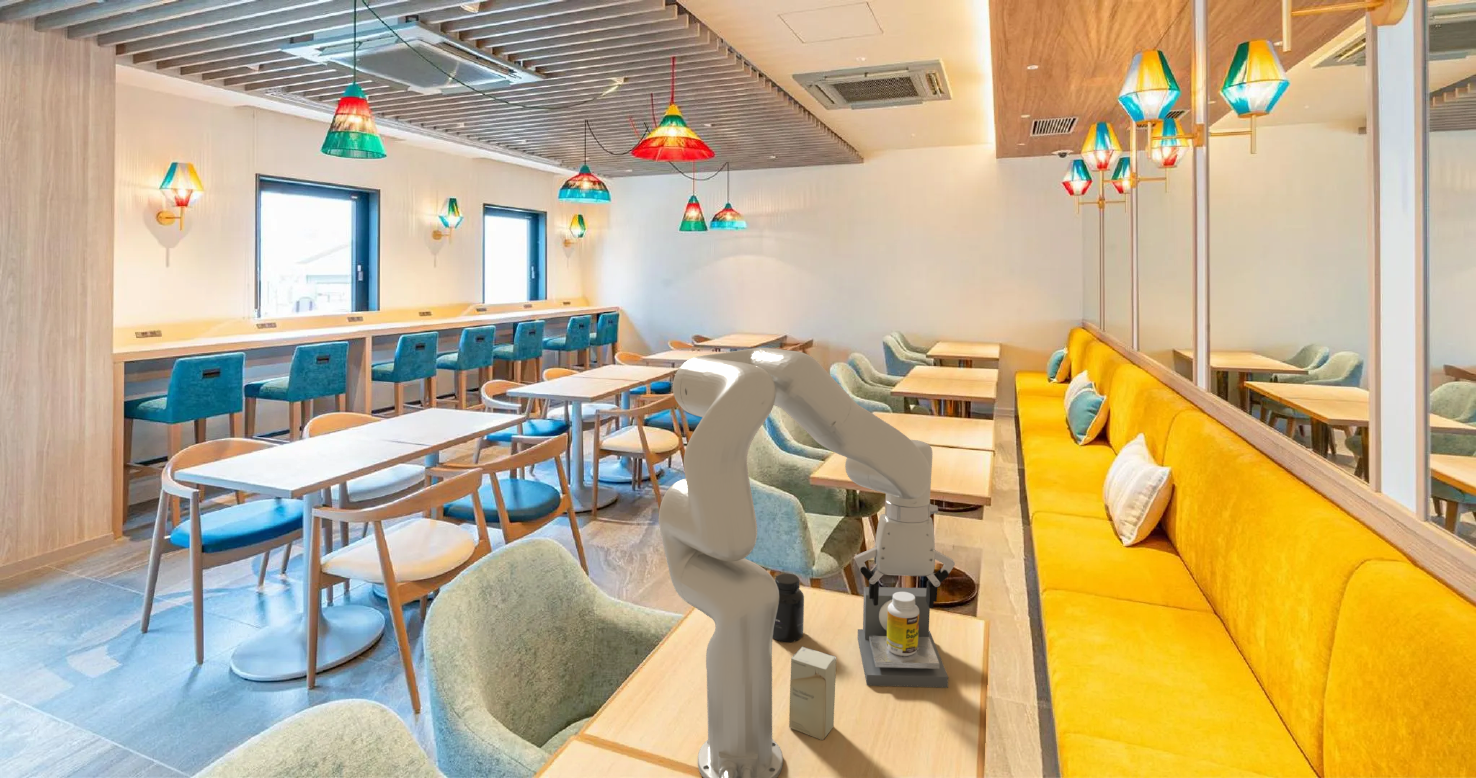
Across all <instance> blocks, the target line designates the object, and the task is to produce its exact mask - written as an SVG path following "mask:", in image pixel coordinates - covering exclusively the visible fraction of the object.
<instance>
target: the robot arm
mask: <svg viewBox="0 0 1476 778" xmlns="http://www.w3.org/2000/svg"><path fill="white" fill-rule="evenodd" d="M672 392H673V393H672V394H673V397H674V399H675V401H676V402H677V404H678V406H679V407H681V409H682V410H684V411H685V412H687V413H689V414H690V415H693V416H697V417H700V418H701V419H700V421H699V423H698V424H697V426H696V428H695V429H694V431H693V432H692V434H691V436H690V438H689V440H688V443H687V445H686V448H685V451H684V456H683V468H684V469H683V470H684V476H685V478H683V479H679V480H678V481H676V482H674V483H673V484H671V486H670V487H668V489H667V490H666V492H665V493H664V495H663V497H662V500H661V502H660V506H659V509H658V510H659V511H658V525H659V532H660V537H661V541H662V545H663V550H664V555H665V559H666V564H667V567H668V568H667V569H668V572H669V576H670V580H671V583H672V586H673V588H674V591H675V592H676V593H677V595H678V596H679V597H680V599H682V600H683V601H684V602H686V603H687V604H689V605H690V606H692V607H693V608H695V609H696V610H699V611H700V612H701V613H703V614H704V615H706V616H707V617H708V618H709V619H710V618H711V619H712V621H713V622H714V624H715V626H714V627H715V629H714V632H713V634H712V636H711V637H710V640H709V641H708V643H707V646H706V647H707V648H706V655H705V656H706V657H705V659H706V660H705V662H706V664H705V665H706V694H707V695H706V700H707V703H706V705H707V706H706V708H707V740H706V741H704V743H703V744H702V745H701V747H700V749H699V750H698V754H697V755H698V756H697V767H698V771H699V772H700V775H701V777H703V778H779V775H780V774H781V772H782V768H783V760H784V757H783V751H782V748H781V746H779V744H778V743H777V742H776V740H774V739H773V639H774V638H773V630H774V624H775V619H776V614H777V610H778V604H779V590H778V587H777V584H776V582H775V578H774V577H773V576H772V574H770V573H769V571H768V570H767V569H765V568H764V567H762V566H760V565H759V564H757V563H755V562H753V561H751V560H749V559H747V557H748V556H749V555H750V554H751V552H752V551H754V549H755V546H756V544H757V540H758V539H757V538H758V524H757V517H756V516H757V515H756V511H755V506H754V500H753V494H752V489H751V483H750V478H749V477H750V476H749V470H748V469H749V468H748V454H749V449H750V447H751V445H752V442H753V440H754V439H755V437H756V435H757V433H758V431H759V430H760V428H761V427H762V425H763V424H764V423H765V421H766V420H767V419H768V418H769V416H770V414H771V412H772V410H773V409H774V406H775V407H778V408H779V409H781V410H783V411H784V412H785V413H786V414H787V415H788V416H790V418H791V419H792V420H794V421H795V422H796V423H797V424H798V425H799V426H800V427H801V428H802V429H803V430H804V431H805V432H806V433H807V434H808V435H809V436H810V437H811V438H812V439H813V440H814V441H815V442H816V443H817V444H819V445H820V446H822V447H824V448H825V449H828V450H829V451H832V452H833V453H835V454H838V455H839V456H842V457H845V458H846V460H845V462H844V463H845V465H844V466H845V467H844V468H845V473H846V475H847V477H848V478H849V479H850V480H851V481H852V482H853V483H854V484H856V485H857V486H860V487H862V488H864V489H865V488H866V489H870V490H872V491H875V492H880V493H882V494H885V505H884V506H885V507H884V513H882V514H880V515H879V519H878V523H877V529H876V534H875V541H874V542H875V543H874V547H871V548H869V549H867V550H866V551H862V552H860V553H857V554H856V555H855V556H854V560H855V563H856V565H857V567H858V569H859V571H860V574H862V576H863V577H864V578H865V579H866V580H867V581H868V587H869V599H872V601H873V604H874V606H877V605H878V595H879V587H880V584H879V580H880V579H881V578H882V577H883V576H885V575H888V576H901V577H902V576H905V577H906V576H908V577H926V578H927V579H928V580H927V581H926V587H925V588H926V602H927V604H928V606H929V607H930V609H934V603H935V602H938V589H939V588H938V587H940V585H941V583H942V582H943V581H945V580H946V579H947V578H948V577H949V574H950V573H951V571H952V570H953V569H954V567H955V564H956V563H955V561H954V559H952V558H951V557H949V556H947V555H945V554H944V553H942V552H940V551H938V550H936V546H935V544H936V543H935V529H934V521H933V518H932V517H931V516H932V515H934V514H938V513H939V507H938V505H934V504H931V488H932V472H933V471H932V470H933V449H932V446H931V445H930V444H929V443H927V442H924V441H922V440H917V439H911V438H909V437H908V436H907V435H906V434H905V433H903V432H901V431H900V430H898V429H897V428H896V427H895V426H893V425H891V424H889V423H888V422H886V421H884V420H883V419H882V418H880V417H878V416H877V415H876V414H874V413H873V412H870V411H869V410H867V409H866V408H864V407H862V406H861V405H859V404H858V403H856V401H855V400H854V399H852V397H851V396H850V395H849V394H848V393H847V392H846V391H845V390H844V389H843V388H842V387H841V386H840V384H839V383H838V381H836V380H835V379H834V378H833V377H832V376H831V374H830V373H829V372H828V371H827V369H825V368H824V367H823V366H822V364H821V363H819V361H818V360H816V358H814V357H813V356H811V355H809V354H808V353H805V352H801V351H799V350H788V349H780V348H773V347H772V348H771V347H753V348H749V349H746V348H745V349H741V350H734V351H733V350H732V351H726V352H719V353H710V354H705V355H698V356H694V357H692V358H690V359H687V360H686V361H685V362H684V363H682V364H681V366H680V367H679V368H678V369H677V371H676V373H675V374H674V377H673V381H672ZM871 559H873V561H874V566H873V567H872V568H871V569H869V567H867V565H866V563H865V562H867V561H869V560H871ZM936 561H937V562H940V563H941V564H942V567H941V568H940V569H938V571H936V572H935V569H936Z"/></svg>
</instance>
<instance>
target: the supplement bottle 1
mask: <svg viewBox="0 0 1476 778" xmlns="http://www.w3.org/2000/svg"><path fill="white" fill-rule="evenodd" d="M774 580H775V582H776V584H777V587H778V590H779V604H778V610H777V614H776V619H775V624H774V630H773V639H774V640H775V641H778V642H781V643H793V642H797V641H799V640H800V639H801V638H802V637H803V635H804V623H805V622H804V621H805V619H804V618H805V617H804V615H805V614H804V613H805V612H804V611H805V596H804V593H803V590H801V589H800V578H799V576H797V575H796V574H793V573H792V574H791V573H781V574H778V575H776V576H775V578H774Z"/></svg>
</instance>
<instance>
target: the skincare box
mask: <svg viewBox="0 0 1476 778" xmlns="http://www.w3.org/2000/svg"><path fill="white" fill-rule="evenodd" d="M790 659H791V660H790V680H789V681H790V685H789V689H790V690H789V712H788V714H789V715H788V716H789V718H788V719H789V721H788V727H789V728H790V729H792V730H795V731H797V732H800V733H802V734H806V735H808V736H810V737H813V738H815V739H818V740H820V741H821V740H822V741H823V740H824V739H826V738H827V735H828V734H829V733H830V732H831V731H832V729H833V728H834V726H835V725H834V724H835V699H836V698H835V697H836V696H835V695H836V674H837V673H836V671H837V656H835V655H831V654H828V653H825V652H822V651H818V650H814V649H812V648H809V647H804V646H801V647H800V648H799V649H798V650H797V651H796V652H795V653H794V654H793V655H792V656H791V658H790Z"/></svg>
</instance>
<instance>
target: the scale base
mask: <svg viewBox="0 0 1476 778" xmlns="http://www.w3.org/2000/svg"><path fill="white" fill-rule="evenodd" d="M926 588H927V587H895V586H894V587H890V586H889V587H888V586H887V587H886V586H885V587H884V586H879V595H878V605H877V606H874V604H873V601H872V599H869V586H864V587H863V613H862V614H863V615H862V616H863V617H862V628H861V629H859V628H858V629H857V643H858V648H859V653H860V657H861V662H862V663H861V664H862V667H863V673H864V678H865V683H866V686H875V687H876V686H877V687H910V688H911V687H913V688H947V689H948V688H949V676H948V673H947V670H946V667H945V665H944V663H943V660H942V658H941V655H940V652H939V651H938V647H937V646H936V643H935V641H934V638H933V636H932V632H931V630H930V613H931V610H930V609H931V608H930V607H929V606H928V604H927V602H926ZM896 592H908V593H911V594H913V595H914V596H915V605H916V606H917V607H918V608H919V631H918V637H929V638H930V641H931V643H932V646H933V648H934V651H935V653H936V656H937V659H938V661H939V669H931V668H893V667H875V663H874V658H873V654H872V649H871V645H870V641H869V639H870V636H887V613H888V605H889V604H890V603H892V598H893V594H894V593H896Z"/></svg>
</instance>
